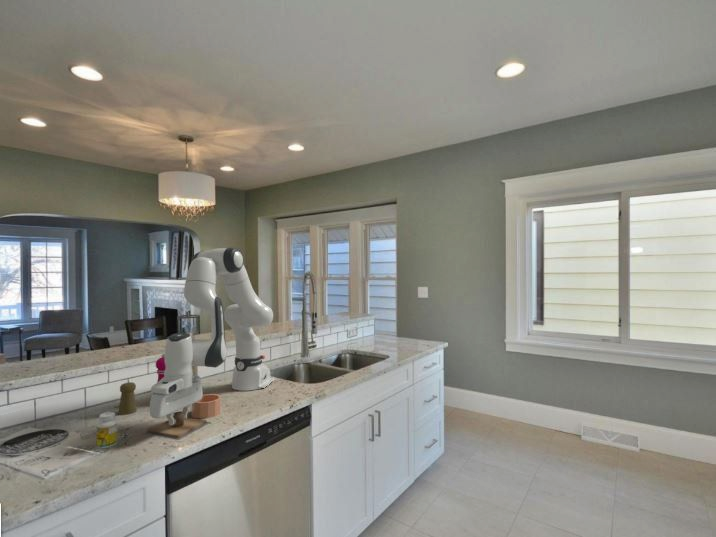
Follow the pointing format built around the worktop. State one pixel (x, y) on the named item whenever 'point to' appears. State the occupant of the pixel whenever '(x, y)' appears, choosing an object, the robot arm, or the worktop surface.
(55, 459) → the worktop surface
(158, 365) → the pepper mill
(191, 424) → the lid
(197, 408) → the bowl
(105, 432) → the supplement bottle
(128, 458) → the worktop surface
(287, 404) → the worktop surface
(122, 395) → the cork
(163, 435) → the mat
